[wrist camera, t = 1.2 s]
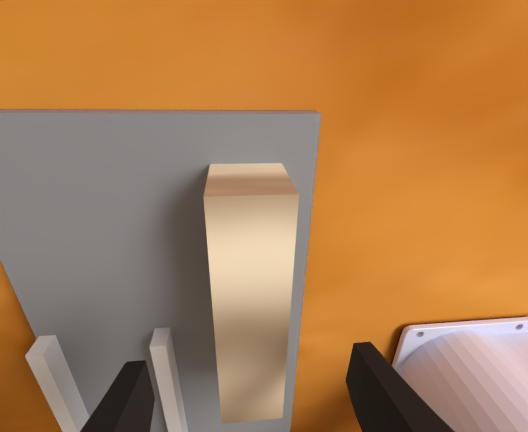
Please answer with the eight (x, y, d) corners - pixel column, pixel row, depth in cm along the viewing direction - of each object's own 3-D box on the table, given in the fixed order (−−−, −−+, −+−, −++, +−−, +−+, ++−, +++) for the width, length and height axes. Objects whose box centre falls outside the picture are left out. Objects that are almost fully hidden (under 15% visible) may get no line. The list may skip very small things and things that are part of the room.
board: (314, 110, 13) (376, 141, 7) (283, 470, 26) (297, 574, 21) (-44, 108, 11) (-290, 145, 6) (116, 490, 25) (85, 607, 19)
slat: (210, 163, 12) (203, 196, 9) (281, 163, 13) (299, 194, 9) (223, 361, 18) (221, 424, 14) (273, 357, 18) (282, 418, 15)
